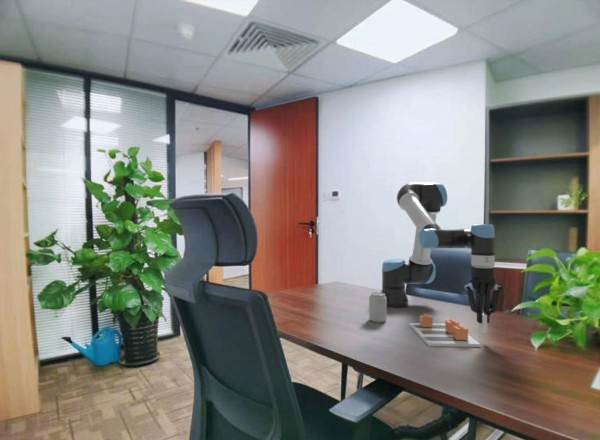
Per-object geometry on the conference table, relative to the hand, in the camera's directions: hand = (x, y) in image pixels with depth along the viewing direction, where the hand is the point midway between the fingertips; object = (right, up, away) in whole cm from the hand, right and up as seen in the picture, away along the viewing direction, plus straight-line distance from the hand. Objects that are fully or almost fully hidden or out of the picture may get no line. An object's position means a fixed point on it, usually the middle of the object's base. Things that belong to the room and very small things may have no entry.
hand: (483, 331), depth 121 cm
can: (-32, -4, +26) cm, 42 cm away
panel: (-12, -4, +8) cm, 15 cm away
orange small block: (-15, -3, +15) cm, 21 cm away
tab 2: (-8, -3, +8) cm, 11 cm away
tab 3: (-8, -3, +1) cm, 8 cm away
